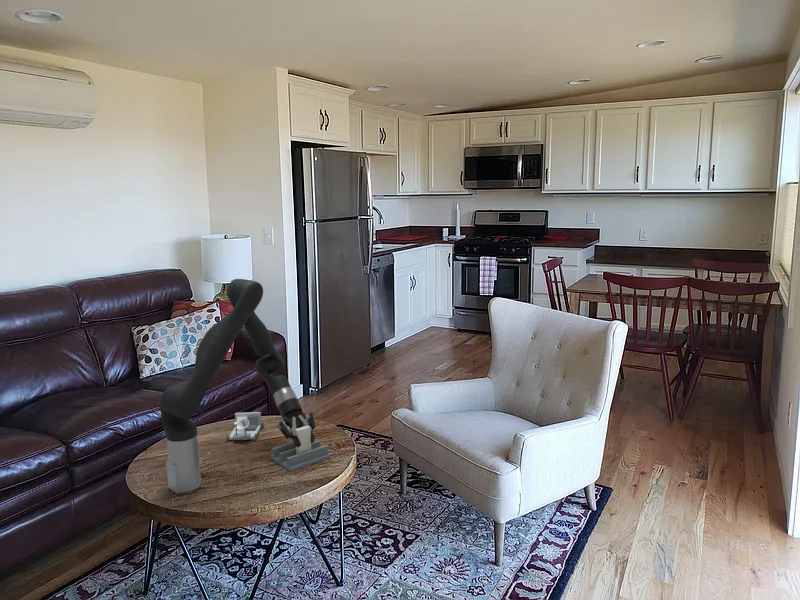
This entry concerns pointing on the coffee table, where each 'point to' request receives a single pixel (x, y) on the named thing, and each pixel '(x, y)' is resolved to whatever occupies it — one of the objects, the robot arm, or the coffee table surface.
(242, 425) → the toy car
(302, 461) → the ribbed grey platform
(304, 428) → the off-white rectangular block
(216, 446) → the coffee table surface
